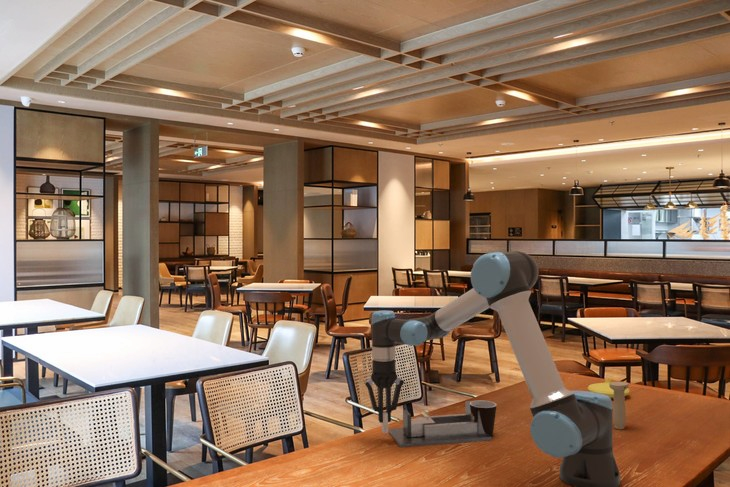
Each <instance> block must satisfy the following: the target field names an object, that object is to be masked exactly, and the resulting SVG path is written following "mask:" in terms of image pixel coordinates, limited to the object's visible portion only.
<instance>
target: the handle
mask: <svg viewBox="0 0 730 487" xmlns="http://www.w3.org/2000/svg"><path fill="white" fill-rule="evenodd" d="M611 382H612V383H610V384H609V386H610V388H611V389H613V390H614V398H613V401H612V408H613V411H612V421H613V423H614V424H613V426H614V427H613V428H615V430H624V429H625V426H626V425H625V424H626V417H627V414H626V413H627V412H626V401H625V400H626V398H625V397H626V396H624V391H625V390H626V389H627V388H628V389H629V386H630V385H629V382H625V381H611Z"/></svg>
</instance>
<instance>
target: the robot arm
mask: <svg viewBox="0 0 730 487" xmlns="http://www.w3.org/2000/svg"><path fill="white" fill-rule="evenodd" d="M470 270H471V271H470V283H471V286H472V288H470V289H469V290H467V292H464V293H463V294H462V295H460V296H459V297H457V298H455V299H453V300H452V301H451V302H449V303H448V304H446V305H444V306H442V307H441V308H440V309H438V310H436V311H434V312H433V313H431V314H430V315H428V316H423V317H422V316H421V317H417V318H410V319H403V318H402V319H401V318H396V314H395V312H394V311H392V310H376V311H373V312H372V314H371V323H370V324H371V326H370V327H371V357H372V362H371V364H372V367H371V369H372V370H371V375H370V378H369V379H367V380H364V382H363V383H364V385H365V387H366V389H367V392H368V395H369V399H370V402H371V403H370V404H371V406H372V409H373V411H374V412H377V414H378V415H377V416H378V421H379V423H380V424H381V432H382V434H389V423H391V420H392V412H393V411H396V410H397V407H398V403H399V399H400V394H401V390H402V386H404V383H405V381H404V380H403V379H402V378H399V377H398V375H397V371H396V365H397V364H396V363H397V362H396V360H395V358H396V343H397V344H402V345H406V346H409V347H410V346H416V347H418V346H421V345H423V344H424V343H425V342H426V341H431V340H432V341H433V340H439V339H442V338H444V337H447V336H449V334H450V333H451V331H452V330H454V329H455V328H457V327H459V326H461V325H462V324H464V323H465V322H468V321H469V320H470V319H473V318H474V317H476V316H478V315H480V314H481V313H483V312H484V311H486V310H489V309H491V310H493V311H495V312H497V314H498V316H499V318H500V321H501V324H502V326H503V329H504V331H505V334H506V336H507V339H508V341H509V344H510V346H511V349H512V351H513V354H514V356H515V358H516V361H517V363H518V366H519V369H520V371H521V373H522V375H523V379H524V380H525V383H526V386H527V387H528V388H527V389H528V391H529V393H530V396H531V403H530V406H529V410H530V413H531V415H532V417H533V418H532V419H531V422H530V423H531V424H530V426H529V428H530V430H529V431H530V436H531V438H532V440H533V443H534V444H535V445H536V447H537V448H538V449H539V450H540V451H542V452H543V453H545V454H546V455H548V456H550V457H554V458H560V459H561V458H562V461H561V463H560V466H559V478H560V480H561V481H562V482H564V483H565V484H567V485H569V486H572V487H619V486H620V485H621V473H620V471H619V467H618V465H617V461H616V459H615V455H614V453H613V449H614V448H613V446H614V445H613V401H612V398H610V397H608V396H606V395H604V394H600V393H594V392H589V391H588V390H569V389H567V388H566V387H565V385H564V382H563V379H562V377H561V374H560V372H559V370H558V368H557V366H556V363H555V360H554V358H553V355H552V354H551V351H550V349H549V347H548V344H547V342H546V340H545V337H544V334H543V332H542V330H541V328H540V325H539V323H538V321H537V318H536V315H535V313H534V311H533V309H532V306H531V303H530V301H529V298H530V296H531V294H532V290H531V289H532V288H533V287H534V286H535V285H536V283H537V282H538V279H539V268H538V264H537V262H536V260H535V259H534V258H533V257H532V256H531V255H529V254H528V253H526V252H522V251H517V250H516V251H492V252H489V253H485V254H482V255H481V256H479V257H478V258H477V259H476V260H475V261H474V263H473V266H472V269H470ZM373 383H374V384H373ZM394 384H395V386H394V392H393V396H392V386H393V385H394ZM373 385H375V386H376V387H377V402H376V396H375V394H374V389H373ZM384 389H385V390H384ZM384 391H385V410H384Z"/></svg>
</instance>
